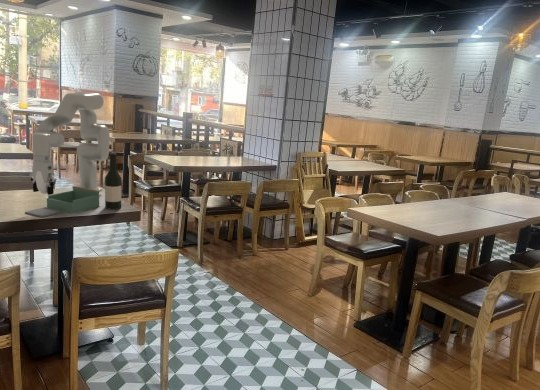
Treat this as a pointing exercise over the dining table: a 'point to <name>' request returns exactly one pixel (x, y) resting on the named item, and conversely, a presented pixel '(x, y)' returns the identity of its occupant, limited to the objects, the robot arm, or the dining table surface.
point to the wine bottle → (112, 186)
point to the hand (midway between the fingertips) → (43, 192)
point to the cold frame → (74, 200)
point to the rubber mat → (43, 212)
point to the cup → (41, 183)
